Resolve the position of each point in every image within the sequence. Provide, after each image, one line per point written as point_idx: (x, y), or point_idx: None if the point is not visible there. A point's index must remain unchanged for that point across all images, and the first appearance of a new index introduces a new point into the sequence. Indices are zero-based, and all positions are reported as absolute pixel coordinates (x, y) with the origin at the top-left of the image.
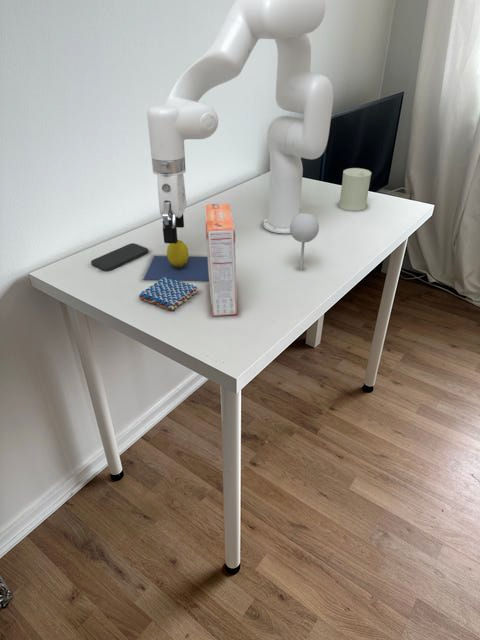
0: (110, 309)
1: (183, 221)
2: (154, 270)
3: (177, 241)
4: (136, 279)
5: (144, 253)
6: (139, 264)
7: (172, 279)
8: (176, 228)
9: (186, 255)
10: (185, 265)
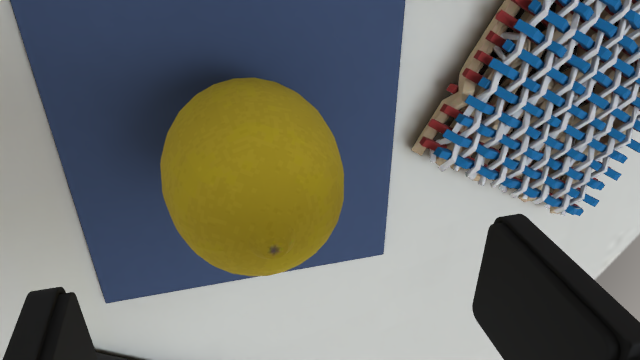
0: (587, 270)
1: (35, 347)
2: None
3: (510, 219)
4: (375, 279)
5: (100, 355)
6: (221, 325)
7: (483, 110)
8: (627, 330)
9: (290, 96)
10: (199, 86)
